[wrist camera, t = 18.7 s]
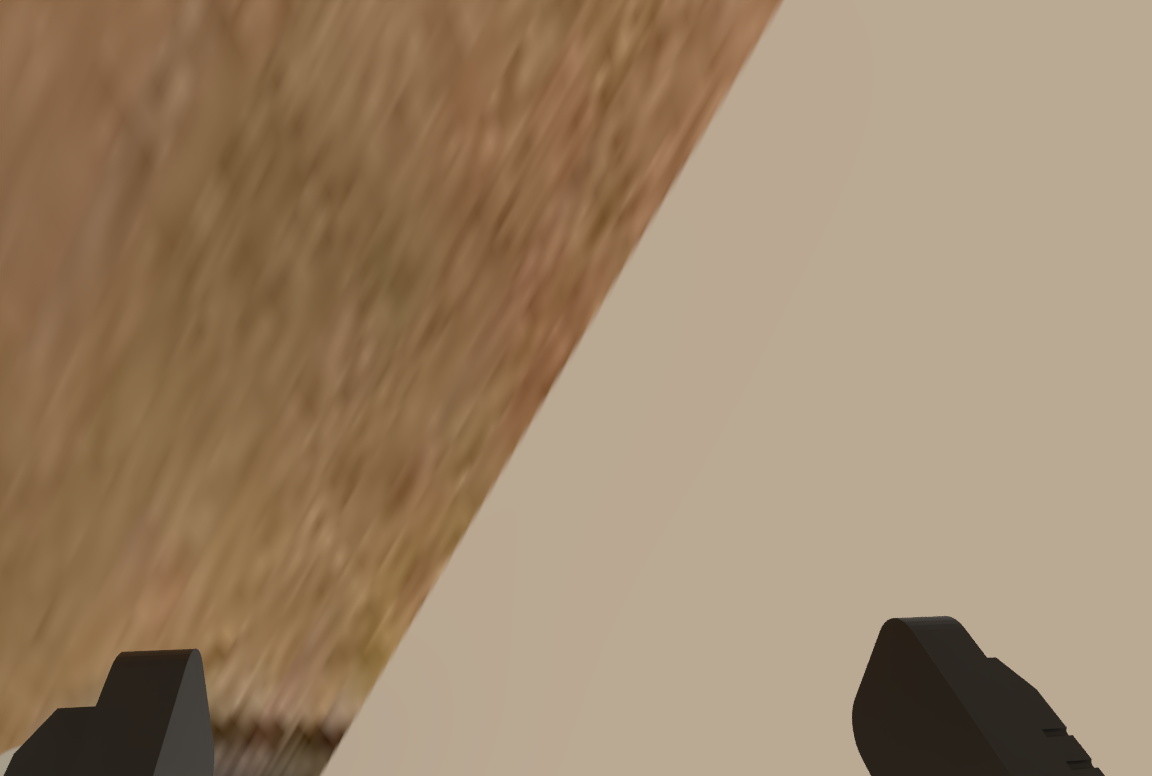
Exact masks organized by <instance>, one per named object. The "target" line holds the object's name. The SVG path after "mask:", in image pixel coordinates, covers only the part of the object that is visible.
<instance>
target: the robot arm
mask: <svg viewBox="0 0 1152 776" xmlns="http://www.w3.org/2000/svg"><path fill="white" fill-rule="evenodd" d="M852 725H853V732H854V737H855V741H856V745H857V747H858V750H859V753H860V755H861V757H862V759H863V761H864V763H865V765H866V767H867V769H868V771H869V772H870V775H871V776H1105V775H1104V774H1103V773H1102V772H1101V770H1100V769H1099V768H1094V767H1093V766H1092V763H1091V758H1090V757H1089V755H1088V754H1087V753H1086V751H1085V750H1084V749H1083V748H1082V746H1081V745H1080V744H1079V743H1078V742H1077V740H1076V739H1075V738H1074V736H1073V735H1071V736H1069V735H1068V734H1067V732H1066V726H1065V725H1064V724H1063V723H1062V721H1061V720H1060V719H1059V717H1058V716H1057V715H1056V713H1055V712H1054V711H1053V710H1052V709H1051V707H1050V706H1049V705H1048V703H1047V702H1046V701H1045V700H1044V698H1043V697H1042V696H1041V695H1040V693H1039V692H1038V691H1037V690H1036V689H1035V688H1034V687H1033V686H1031V685H1030V684H1029V683H1028V682H1026V681H1025V680H1024V679H1023V678H1021V677H1020V676H1019V675H1017V674H1016V673H1015V672H1014V671H1012V670H1011V669H1010V668H1009V667H1007V666H1006V665H1005V664H1003V663H1002V662H1001V661H1000V660H998V659H997V658H987V657H986V656H985V655H984V653H983V652H982V651H981V649H980V648H979V647H978V645H977V644H976V643H975V641H974V640H973V639H972V637H971V636H970V635H969V633H968V632H967V631H966V630H965V628H964V627H963V626H962V625H961V624H960V623H959V622H958V621H957V620H956V619H954V618H952V617H948V616H938V617H913V618H892V619H889V620H887V621H886V622H885V623H884V625H883V626H882V628H881V630H880V633H879V635H878V638H877V641H876V643H875V646H874V649H873V652H872V654H871V657H870V660H869V663H868V665H867V668H866V671H865V673H864V676H863V679H862V681H861V684H860V687H859V689H858V692H857V695H856V698H855V700H854V704H853V710H852ZM213 771H214V744H213V736H212V729H211V721H210V714H209V707H208V700H207V692H206V685H205V678H204V671H203V663H202V658H201V654H200V652H199V650H198V649H183V650H158V651H134V652H122V653H120V654H119V655H118V656H117V657H116V659H115V661H114V662H113V665H112V667H111V669H110V672H109V674H108V677H107V679H106V682H105V684H104V687H103V689H102V692H101V694H100V697H99V700H98V702H97V705H96V706H95V707H76V708H58V709H57V710H56V711H55V712H54V713H53V714H52V715H51V716H50V717H49V718H48V719H47V720H46V721H45V722H44V723H43V724H42V725H41V726H40V727H39V728H38V729H37V731H36V732H35V733H34V734H33V735H32V736H31V737H30V738H29V739H28V740H27V741H26V742H25V743H24V744H23V745H22V746H21V747H20V748H19V749H18V750H17V751H16V753H14V755H13V757H12V759H11V761H10V763H9V765H8V768H7V770H6V772H5V774H4V776H213Z"/></svg>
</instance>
